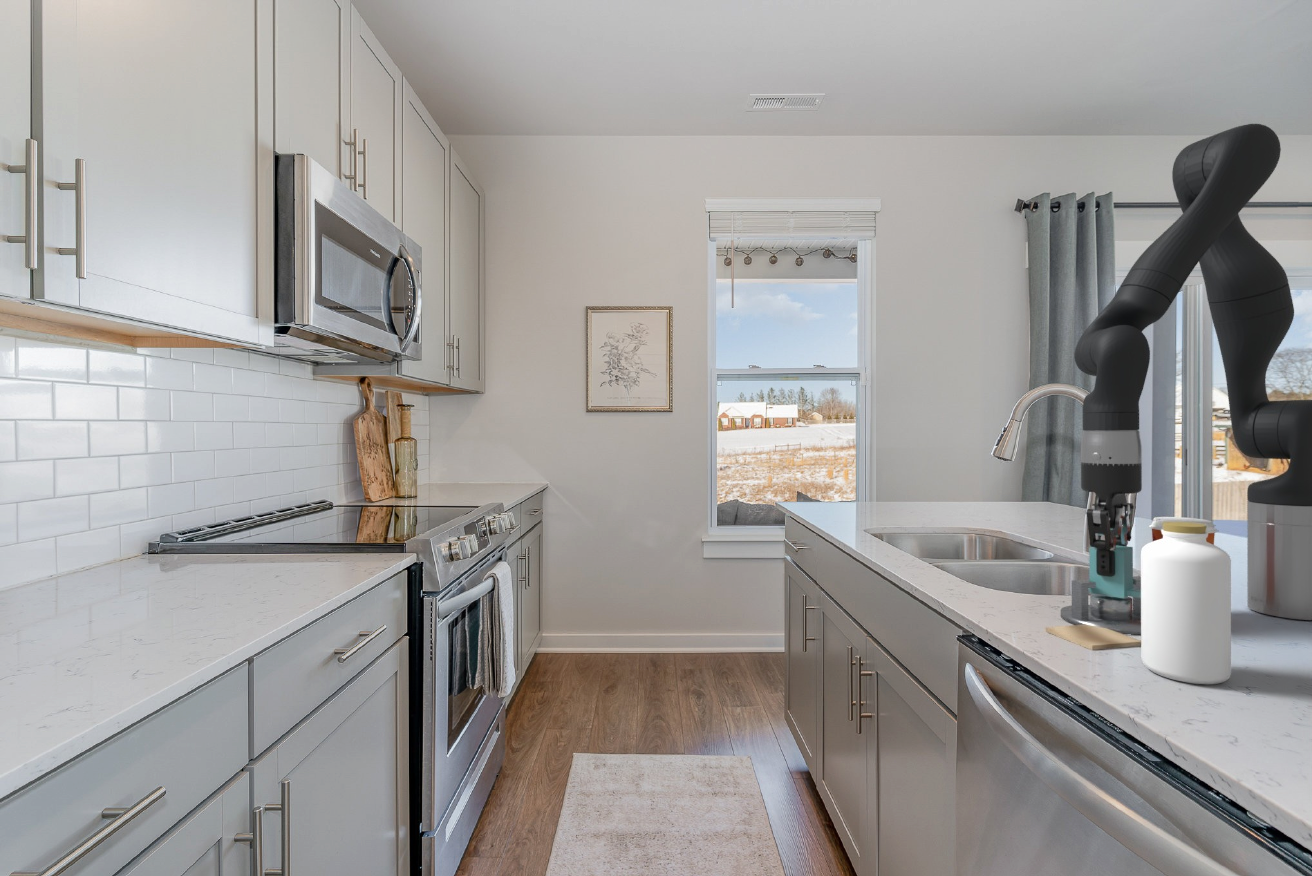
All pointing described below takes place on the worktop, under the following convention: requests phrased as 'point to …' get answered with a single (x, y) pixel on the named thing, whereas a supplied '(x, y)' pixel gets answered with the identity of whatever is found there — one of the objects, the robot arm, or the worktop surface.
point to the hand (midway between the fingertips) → (1111, 572)
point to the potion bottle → (1186, 606)
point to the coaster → (1093, 636)
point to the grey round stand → (1104, 609)
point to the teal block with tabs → (1120, 581)
